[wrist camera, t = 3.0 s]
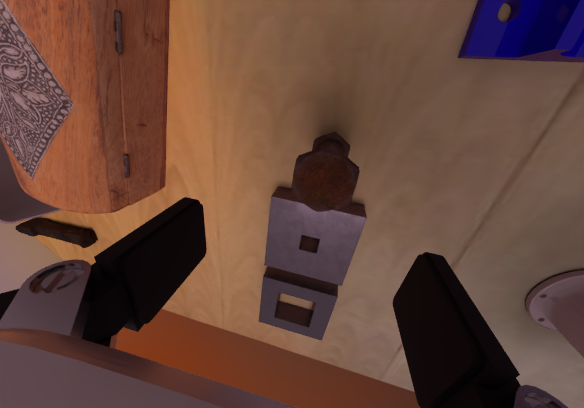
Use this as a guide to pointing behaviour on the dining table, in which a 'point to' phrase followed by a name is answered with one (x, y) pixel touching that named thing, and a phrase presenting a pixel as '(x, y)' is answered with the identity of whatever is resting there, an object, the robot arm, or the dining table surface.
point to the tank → (17, 195)
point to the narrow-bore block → (310, 251)
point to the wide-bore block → (294, 316)
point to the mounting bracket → (527, 31)
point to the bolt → (325, 174)
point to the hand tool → (57, 231)
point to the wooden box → (85, 99)
